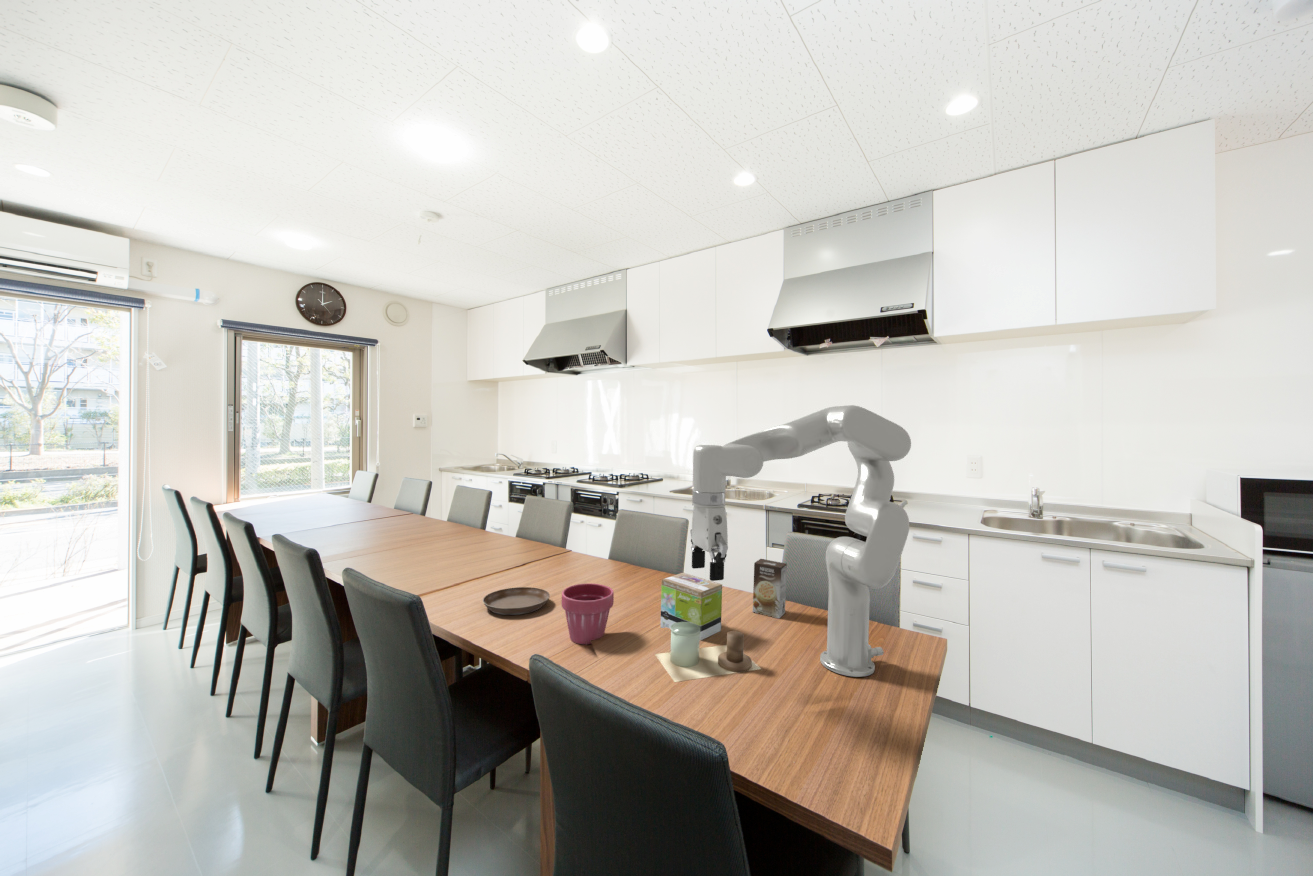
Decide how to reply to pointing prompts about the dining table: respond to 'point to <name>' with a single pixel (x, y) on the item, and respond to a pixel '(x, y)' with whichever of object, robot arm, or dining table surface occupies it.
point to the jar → (685, 644)
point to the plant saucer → (516, 600)
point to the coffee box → (769, 588)
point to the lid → (734, 654)
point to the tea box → (691, 603)
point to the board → (699, 665)
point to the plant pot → (587, 610)
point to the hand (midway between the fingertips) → (707, 573)
